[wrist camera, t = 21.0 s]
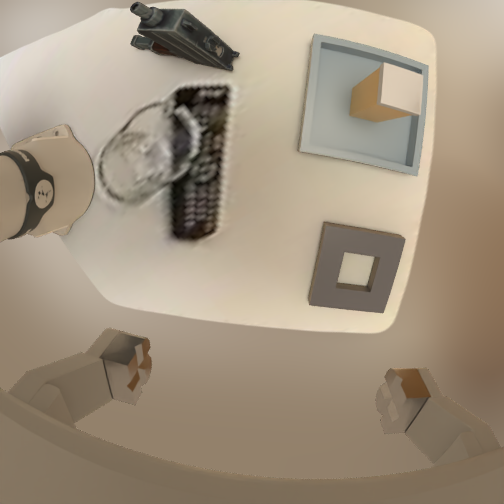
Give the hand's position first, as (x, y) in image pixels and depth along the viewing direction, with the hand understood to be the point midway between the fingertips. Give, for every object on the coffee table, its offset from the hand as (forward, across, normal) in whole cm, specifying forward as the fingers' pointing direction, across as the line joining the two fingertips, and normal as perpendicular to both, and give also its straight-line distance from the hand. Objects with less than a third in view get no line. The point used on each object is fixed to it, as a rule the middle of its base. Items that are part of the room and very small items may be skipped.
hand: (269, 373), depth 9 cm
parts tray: (+33, +10, +15) cm, 38 cm away
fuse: (+32, +10, +15) cm, 37 cm away
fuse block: (+33, +13, -8) cm, 36 cm away
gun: (+33, -15, +20) cm, 42 cm away
